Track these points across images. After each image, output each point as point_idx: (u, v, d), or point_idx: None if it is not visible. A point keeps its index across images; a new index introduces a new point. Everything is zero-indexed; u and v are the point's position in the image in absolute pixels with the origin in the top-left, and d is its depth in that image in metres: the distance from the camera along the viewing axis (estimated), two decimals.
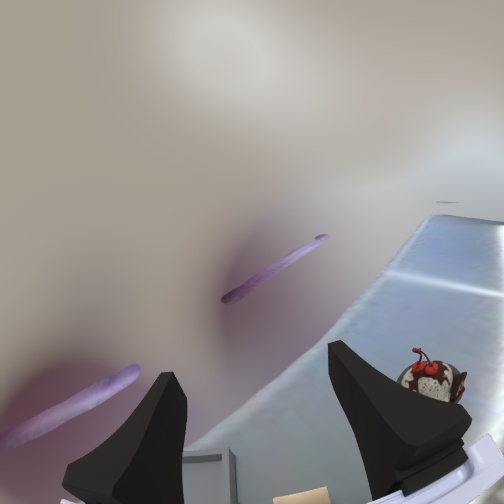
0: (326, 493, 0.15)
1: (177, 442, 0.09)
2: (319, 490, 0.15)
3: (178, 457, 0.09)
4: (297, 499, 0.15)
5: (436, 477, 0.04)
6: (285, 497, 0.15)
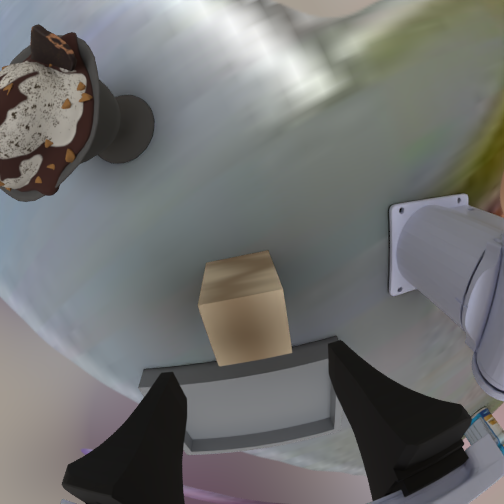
0: (212, 304, 0.14)
1: (177, 442, 0.09)
2: (206, 314, 0.14)
3: (178, 457, 0.09)
4: (221, 340, 0.15)
5: (436, 477, 0.04)
6: (217, 353, 0.15)
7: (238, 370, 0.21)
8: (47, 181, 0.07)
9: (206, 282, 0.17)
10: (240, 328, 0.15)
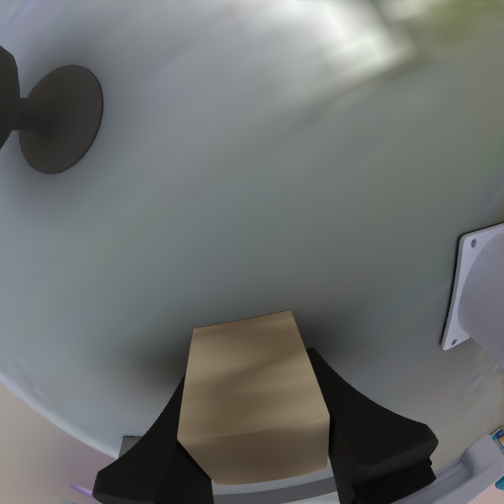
0: (202, 439, 0.07)
1: None
2: (192, 447, 0.07)
3: None
4: (221, 468, 0.07)
5: (398, 496, 0.04)
6: (215, 478, 0.08)
7: None
8: None
9: (192, 379, 0.09)
10: (251, 459, 0.07)
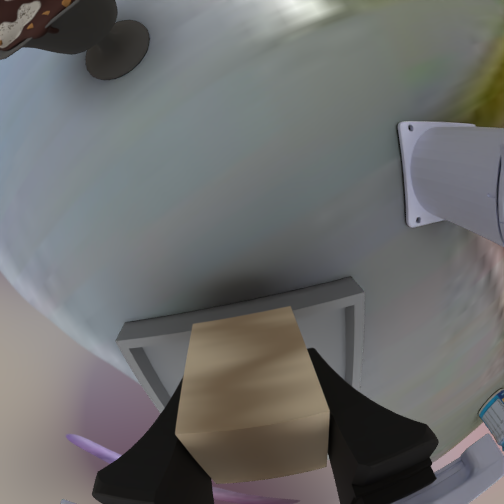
0: (200, 434, 0.07)
1: None
2: (190, 443, 0.07)
3: None
4: (219, 465, 0.07)
5: (398, 496, 0.04)
6: (213, 476, 0.08)
7: (235, 315, 0.18)
8: (38, 24, 0.04)
9: (190, 374, 0.09)
10: (249, 456, 0.07)
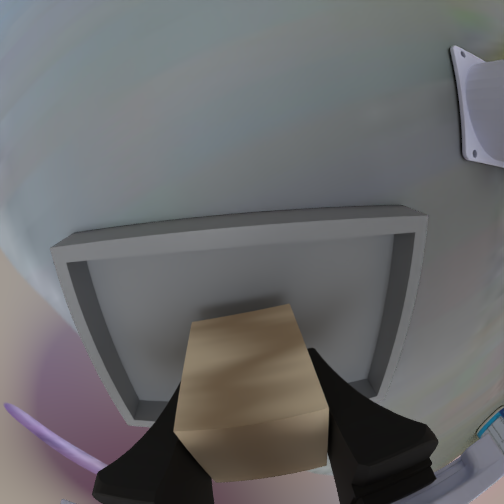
0: (198, 431, 0.07)
1: None
2: (189, 441, 0.07)
3: None
4: (218, 463, 0.07)
5: (398, 497, 0.04)
6: (213, 474, 0.08)
7: (241, 221, 0.11)
8: None
9: (189, 372, 0.09)
10: (248, 454, 0.07)
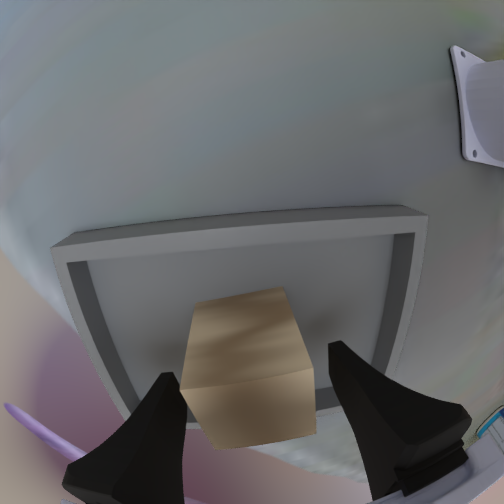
0: (201, 389, 0.08)
1: (177, 442, 0.09)
2: (192, 400, 0.08)
3: (178, 457, 0.09)
4: (218, 427, 0.09)
5: (436, 477, 0.04)
6: (213, 439, 0.09)
7: (241, 221, 0.11)
8: None
9: (193, 342, 0.11)
10: (245, 415, 0.09)
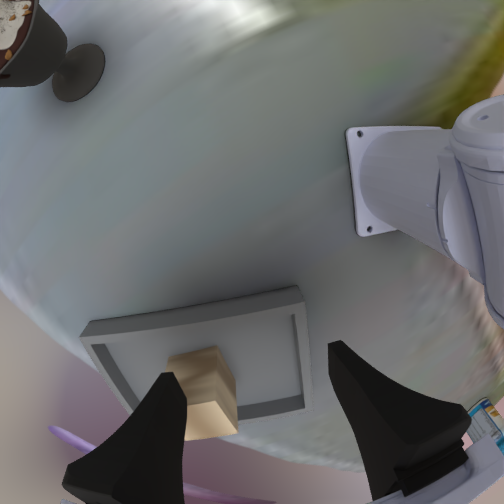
0: None
1: (177, 442, 0.09)
2: None
3: (178, 457, 0.09)
4: None
5: (436, 477, 0.04)
6: None
7: (180, 318, 0.19)
8: None
9: None
10: (192, 421, 0.17)
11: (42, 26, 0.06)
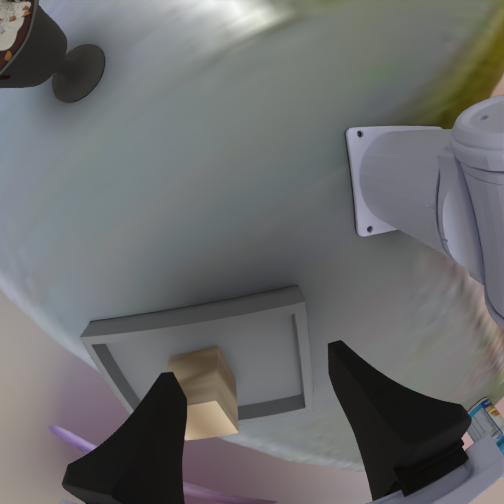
0: None
1: (177, 442, 0.09)
2: None
3: (178, 457, 0.09)
4: None
5: (436, 477, 0.04)
6: None
7: (180, 318, 0.19)
8: None
9: None
10: (192, 421, 0.17)
11: (42, 27, 0.06)
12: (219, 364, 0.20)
